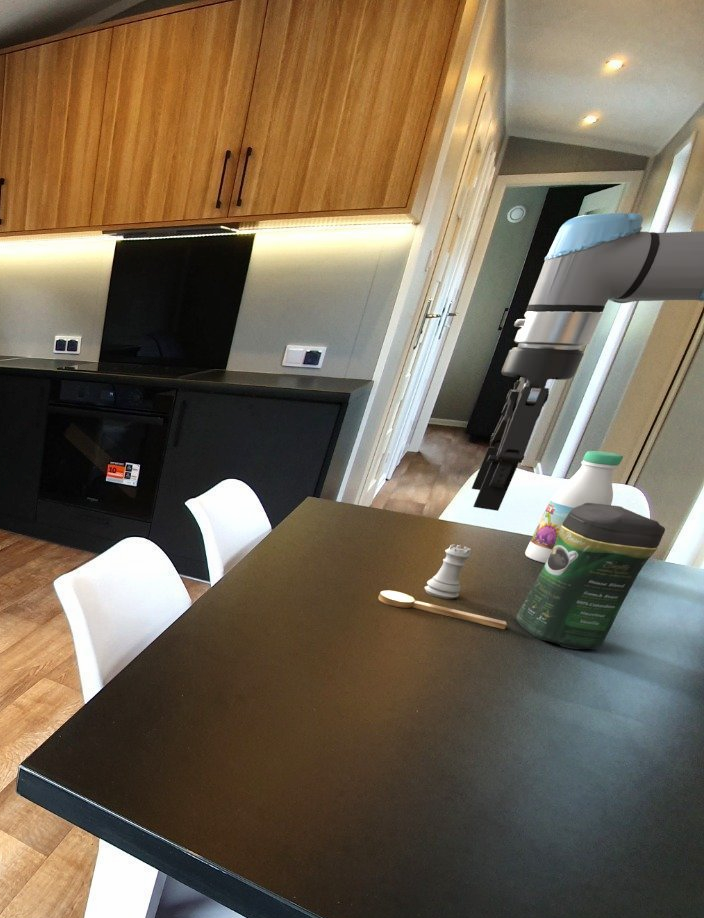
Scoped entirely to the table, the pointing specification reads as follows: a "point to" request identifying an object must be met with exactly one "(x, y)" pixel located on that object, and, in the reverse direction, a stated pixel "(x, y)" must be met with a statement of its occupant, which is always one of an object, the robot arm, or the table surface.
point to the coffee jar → (588, 575)
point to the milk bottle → (574, 499)
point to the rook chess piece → (449, 574)
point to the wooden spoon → (436, 609)
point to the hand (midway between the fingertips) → (483, 499)
